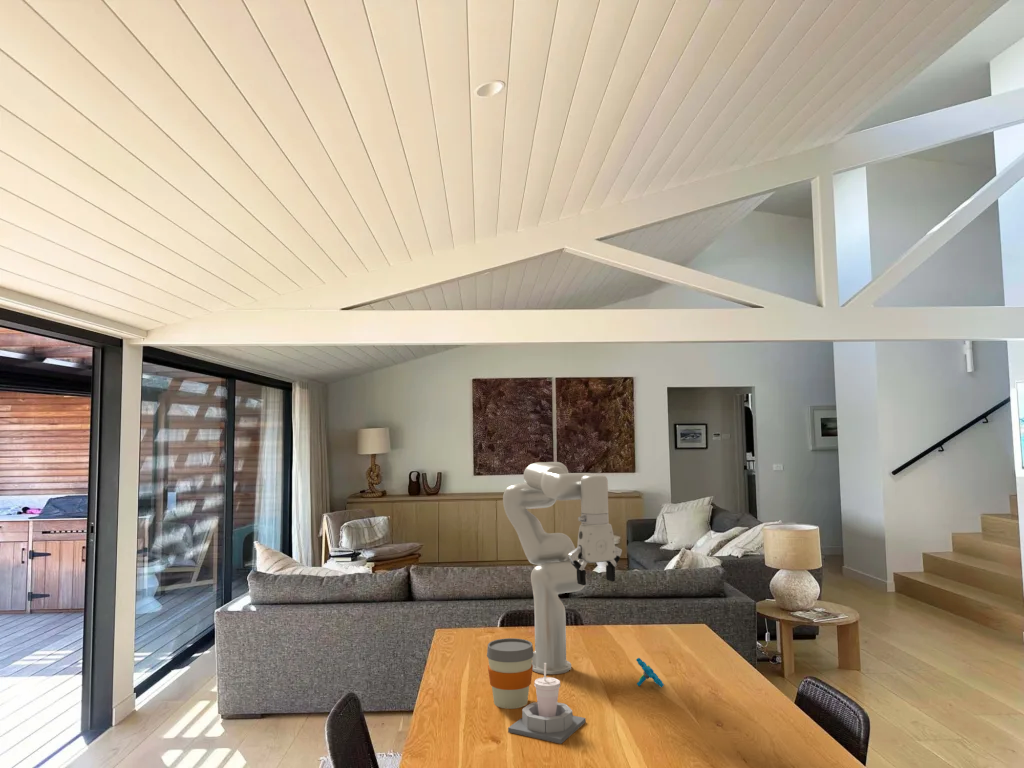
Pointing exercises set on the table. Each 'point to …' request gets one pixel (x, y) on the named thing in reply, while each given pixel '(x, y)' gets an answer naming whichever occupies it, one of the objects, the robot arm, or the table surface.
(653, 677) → the gear
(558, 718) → the bottle socket
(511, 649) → the reusable coffee cup
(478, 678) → the table surface
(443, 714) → the table surface
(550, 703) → the smoothie
